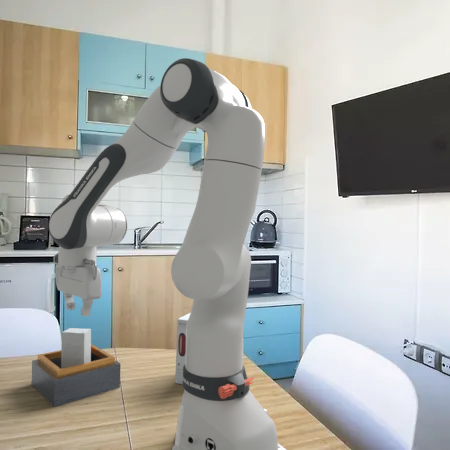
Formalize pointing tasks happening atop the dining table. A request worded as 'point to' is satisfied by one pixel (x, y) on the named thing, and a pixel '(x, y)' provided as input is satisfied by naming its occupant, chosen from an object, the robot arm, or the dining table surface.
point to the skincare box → (75, 347)
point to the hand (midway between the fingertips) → (77, 312)
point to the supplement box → (181, 347)
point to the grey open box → (74, 376)
